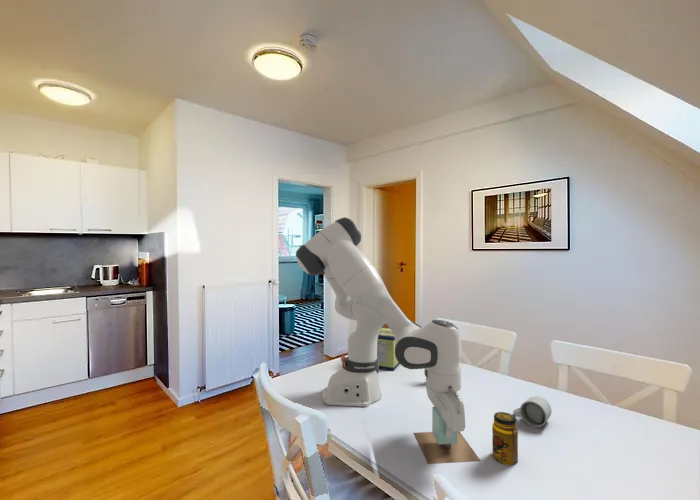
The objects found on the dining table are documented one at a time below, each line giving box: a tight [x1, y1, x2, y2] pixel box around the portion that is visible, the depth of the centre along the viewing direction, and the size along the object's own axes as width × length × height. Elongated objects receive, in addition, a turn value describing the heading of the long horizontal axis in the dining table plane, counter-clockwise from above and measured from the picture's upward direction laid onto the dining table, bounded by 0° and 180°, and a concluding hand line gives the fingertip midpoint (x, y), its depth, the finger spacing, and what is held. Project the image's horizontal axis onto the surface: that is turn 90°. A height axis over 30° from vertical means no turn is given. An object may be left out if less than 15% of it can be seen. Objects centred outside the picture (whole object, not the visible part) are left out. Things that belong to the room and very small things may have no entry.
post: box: [439, 444, 451, 449], centre depth 91 cm, size 3×3×6 cm
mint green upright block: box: [431, 406, 457, 444], centre depth 91 cm, size 5×5×8 cm
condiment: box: [491, 411, 519, 466], centre depth 87 cm, size 7×8×12 cm
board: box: [413, 431, 482, 465], centre depth 91 cm, size 14×14×1 cm
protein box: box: [377, 327, 401, 372], centre depth 158 cm, size 10×16×16 cm
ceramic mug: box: [512, 395, 552, 428], centre depth 107 cm, size 11×8×8 cm
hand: (444, 429), depth 91 cm, fingers closed on mint green upright block, 5 cm apart
